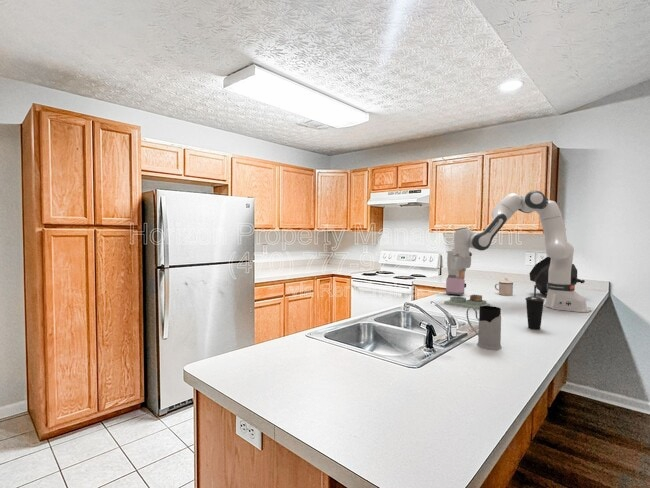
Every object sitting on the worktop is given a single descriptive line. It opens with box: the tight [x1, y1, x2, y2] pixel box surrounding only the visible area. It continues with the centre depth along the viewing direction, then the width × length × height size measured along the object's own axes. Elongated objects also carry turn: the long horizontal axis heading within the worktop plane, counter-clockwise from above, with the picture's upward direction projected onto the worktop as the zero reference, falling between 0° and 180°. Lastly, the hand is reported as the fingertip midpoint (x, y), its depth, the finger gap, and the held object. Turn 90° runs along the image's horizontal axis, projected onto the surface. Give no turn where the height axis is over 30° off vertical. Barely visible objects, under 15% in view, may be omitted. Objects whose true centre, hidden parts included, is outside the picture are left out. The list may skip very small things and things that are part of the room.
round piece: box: [456, 270, 466, 280], centre depth 222 cm, size 5×5×5 cm
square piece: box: [469, 294, 483, 302], centre depth 211 cm, size 5×5×5 cm
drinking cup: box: [525, 284, 546, 331], centre depth 163 cm, size 8×8×20 cm
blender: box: [445, 248, 467, 297], centre depth 249 cm, size 16×12×32 cm
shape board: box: [443, 296, 491, 310], centre depth 215 cm, size 22×14×4 cm, turn 44°
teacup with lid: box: [494, 277, 514, 297], centre depth 252 cm, size 12×9×12 cm
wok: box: [528, 256, 586, 295], centre depth 243 cm, size 28×28×24 cm
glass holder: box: [466, 305, 502, 351], centre depth 140 cm, size 9×14×15 cm, turn 36°
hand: (460, 275), depth 222 cm, fingers closed on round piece, 5 cm apart
